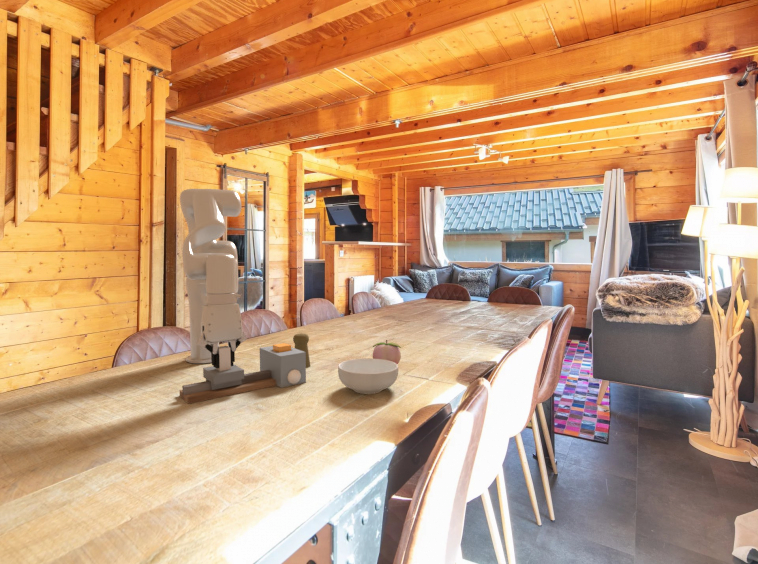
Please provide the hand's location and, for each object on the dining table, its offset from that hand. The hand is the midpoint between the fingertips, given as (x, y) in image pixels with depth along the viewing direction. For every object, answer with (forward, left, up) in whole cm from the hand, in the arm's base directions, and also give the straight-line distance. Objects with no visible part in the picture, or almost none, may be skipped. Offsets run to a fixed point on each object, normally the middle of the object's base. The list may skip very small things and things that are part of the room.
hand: (223, 365), depth 117 cm
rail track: (0, +2, -7) cm, 7 cm away
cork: (-10, +30, -7) cm, 32 cm away
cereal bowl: (+24, +32, -8) cm, 40 cm away
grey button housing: (0, +18, -7) cm, 19 cm away
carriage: (0, 0, -5) cm, 5 cm away
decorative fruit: (+12, +49, -7) cm, 51 cm away
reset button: (0, +18, -1) cm, 18 cm away
